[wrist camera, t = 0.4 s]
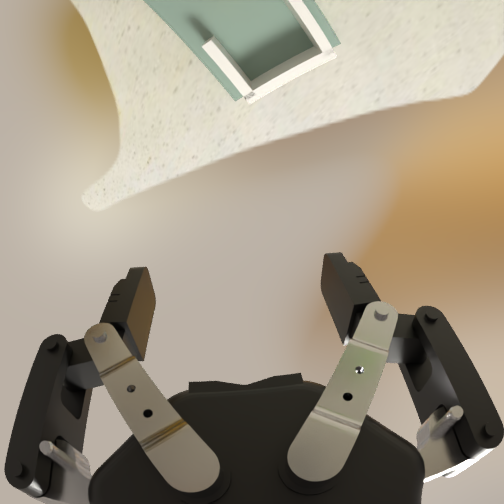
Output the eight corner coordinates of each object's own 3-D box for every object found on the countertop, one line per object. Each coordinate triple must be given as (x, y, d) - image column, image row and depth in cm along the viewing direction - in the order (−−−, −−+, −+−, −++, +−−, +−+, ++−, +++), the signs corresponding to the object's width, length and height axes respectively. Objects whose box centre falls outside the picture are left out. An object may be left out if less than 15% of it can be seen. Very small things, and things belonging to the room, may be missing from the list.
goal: (205, 41, 27) (201, 46, 24) (289, -8, 23) (295, -9, 20) (248, 93, 33) (249, 104, 30) (327, 50, 28) (337, 56, 26)
